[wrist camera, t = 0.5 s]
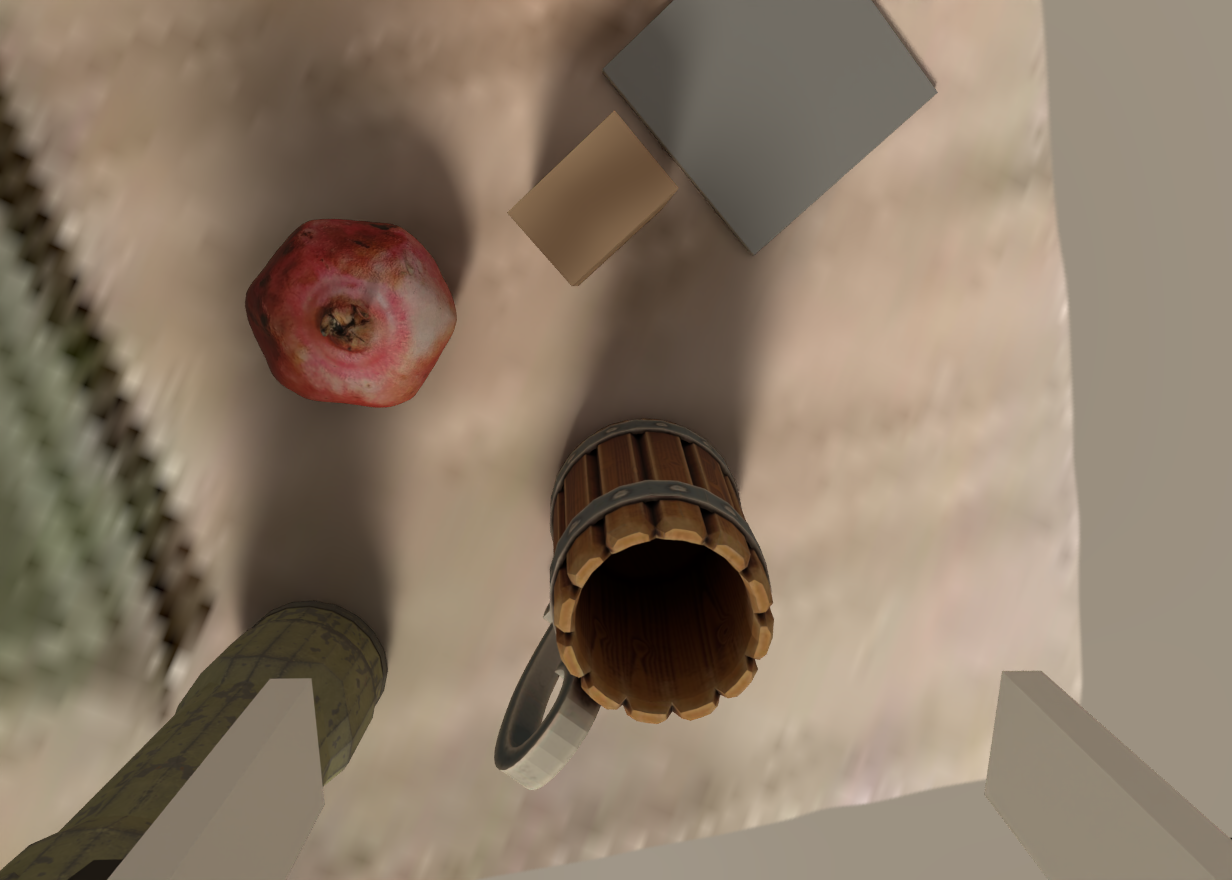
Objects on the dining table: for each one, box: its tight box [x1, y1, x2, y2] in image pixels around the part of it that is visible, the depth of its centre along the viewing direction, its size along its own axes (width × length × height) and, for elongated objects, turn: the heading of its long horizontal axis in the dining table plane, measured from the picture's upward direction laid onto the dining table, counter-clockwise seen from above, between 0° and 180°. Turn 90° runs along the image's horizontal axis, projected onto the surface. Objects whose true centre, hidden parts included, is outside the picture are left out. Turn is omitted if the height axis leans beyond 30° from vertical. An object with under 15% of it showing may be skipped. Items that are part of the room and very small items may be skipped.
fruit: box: [245, 219, 457, 407], centre depth 33 cm, size 9×10×10 cm
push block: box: [507, 110, 678, 286], centre depth 33 cm, size 4×6×8 cm, turn 132°
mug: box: [494, 418, 774, 790], centre depth 34 cm, size 16×11×15 cm
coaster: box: [602, 0, 938, 256], centre depth 35 cm, size 12×12×1 cm
